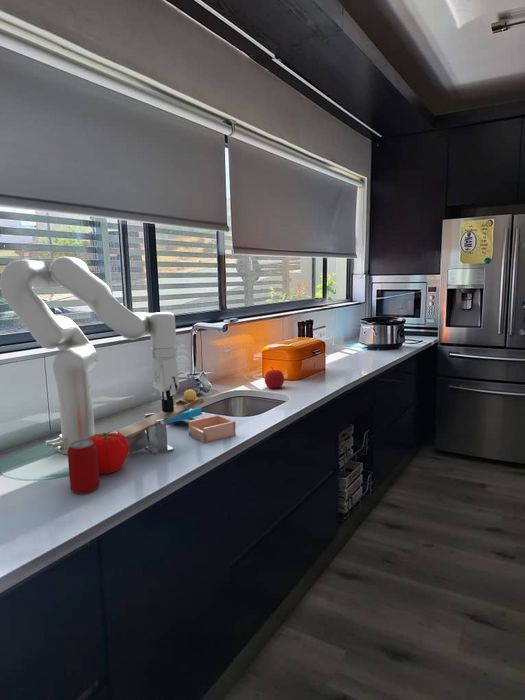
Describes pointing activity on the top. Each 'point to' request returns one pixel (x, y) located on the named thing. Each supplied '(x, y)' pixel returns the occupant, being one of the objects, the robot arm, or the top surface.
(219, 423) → the dish
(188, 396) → the ball
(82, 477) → the beverage can
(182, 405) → the lever
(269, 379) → the apple
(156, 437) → the fulcrum
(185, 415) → the blue wedge block
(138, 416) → the top surface
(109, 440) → the tomato
